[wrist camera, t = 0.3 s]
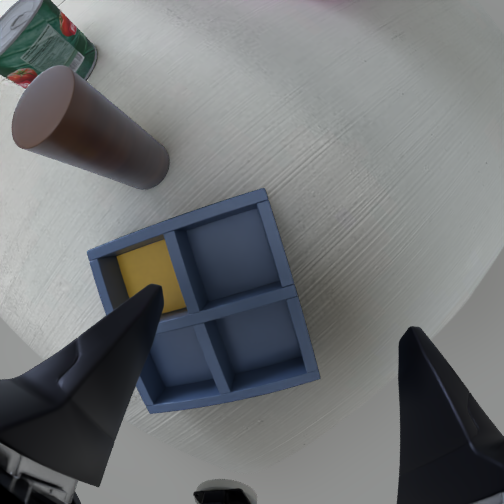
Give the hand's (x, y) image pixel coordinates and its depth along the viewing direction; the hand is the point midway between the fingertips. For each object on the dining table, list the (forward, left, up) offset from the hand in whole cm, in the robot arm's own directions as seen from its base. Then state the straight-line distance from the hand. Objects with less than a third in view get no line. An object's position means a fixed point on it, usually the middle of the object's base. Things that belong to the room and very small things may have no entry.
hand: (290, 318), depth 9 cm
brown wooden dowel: (+11, +7, -12) cm, 18 cm away
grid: (-1, +6, -12) cm, 13 cm away
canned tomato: (+26, +14, -12) cm, 32 cm away
